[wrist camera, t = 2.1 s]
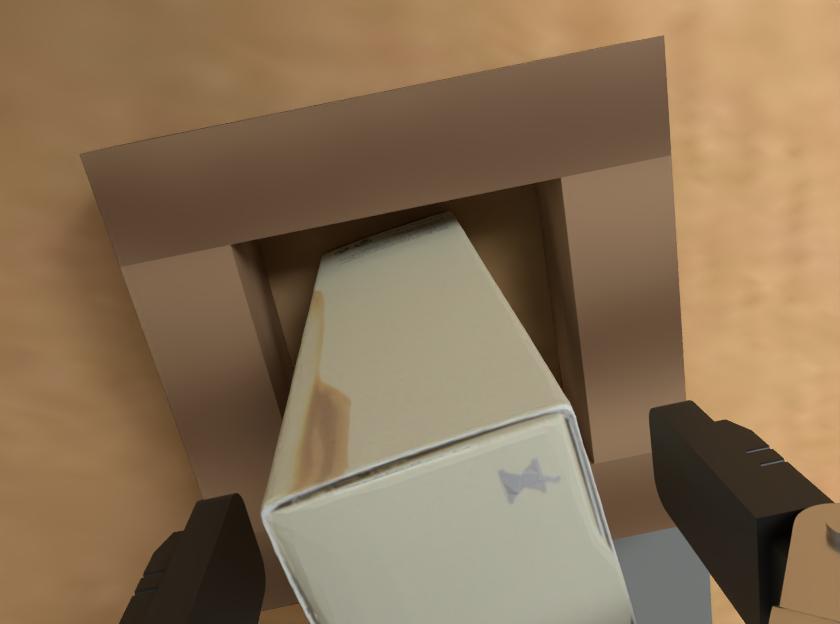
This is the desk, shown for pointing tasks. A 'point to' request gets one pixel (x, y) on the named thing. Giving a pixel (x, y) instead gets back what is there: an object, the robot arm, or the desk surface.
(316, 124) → the collar
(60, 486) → the desk surface
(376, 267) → the skincare box
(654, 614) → the mat
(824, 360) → the desk surface
